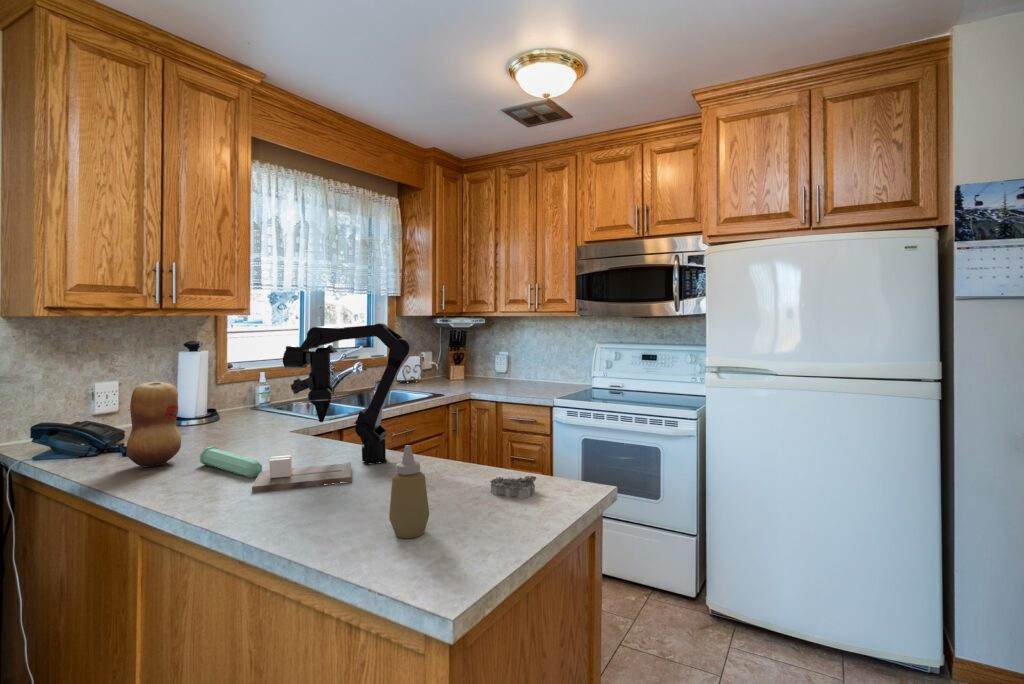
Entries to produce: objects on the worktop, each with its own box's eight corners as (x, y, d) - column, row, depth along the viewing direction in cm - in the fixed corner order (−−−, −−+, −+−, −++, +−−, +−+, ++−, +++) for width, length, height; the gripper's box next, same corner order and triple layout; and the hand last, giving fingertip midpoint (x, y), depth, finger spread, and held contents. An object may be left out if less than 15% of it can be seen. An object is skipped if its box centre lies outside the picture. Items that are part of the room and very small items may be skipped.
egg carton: (538, 492, 132) (538, 476, 131) (525, 502, 125) (525, 485, 125) (500, 486, 136) (500, 470, 136) (486, 495, 130) (486, 478, 129)
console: (351, 467, 153) (350, 462, 153) (351, 482, 140) (351, 476, 140) (260, 476, 146) (260, 470, 146) (252, 492, 133) (251, 486, 132)
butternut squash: (162, 472, 151) (158, 385, 150) (116, 472, 151) (112, 386, 150) (192, 458, 165) (189, 379, 164) (150, 458, 165) (146, 379, 164)
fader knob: (292, 472, 144) (291, 454, 143) (290, 476, 140) (289, 458, 140) (272, 473, 142) (271, 456, 142) (270, 478, 138) (269, 460, 138)
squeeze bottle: (392, 526, 111) (390, 441, 110) (431, 524, 111) (429, 440, 110) (386, 542, 102) (384, 451, 102) (428, 540, 103) (426, 450, 102)
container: (261, 455, 146) (214, 442, 160) (243, 468, 142) (195, 453, 155) (270, 472, 148) (222, 458, 162) (251, 485, 144) (204, 470, 157)
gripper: (294, 366, 165) (296, 415, 166) (288, 372, 147) (290, 427, 148) (332, 364, 168) (333, 413, 169) (330, 370, 151) (331, 424, 152)
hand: (322, 419), depth 159 cm, fingers open, 9 cm apart
